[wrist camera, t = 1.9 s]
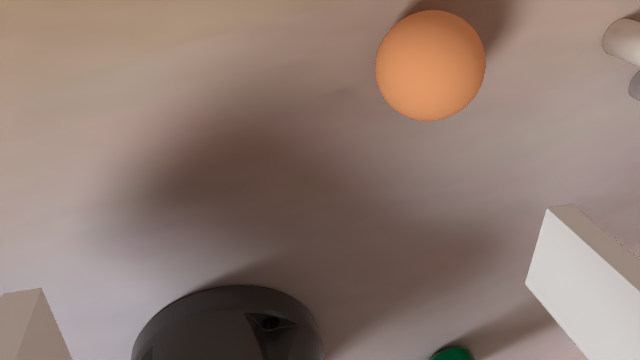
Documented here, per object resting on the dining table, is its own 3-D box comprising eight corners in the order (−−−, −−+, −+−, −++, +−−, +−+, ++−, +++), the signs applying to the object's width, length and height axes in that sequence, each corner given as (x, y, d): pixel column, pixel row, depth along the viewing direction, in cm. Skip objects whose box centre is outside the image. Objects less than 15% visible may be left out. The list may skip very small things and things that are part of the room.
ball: (458, 79, 31) (509, 117, 26) (372, 110, 31) (407, 153, 26) (449, -14, 28) (506, 8, 23) (352, 18, 28) (388, 48, 23)
